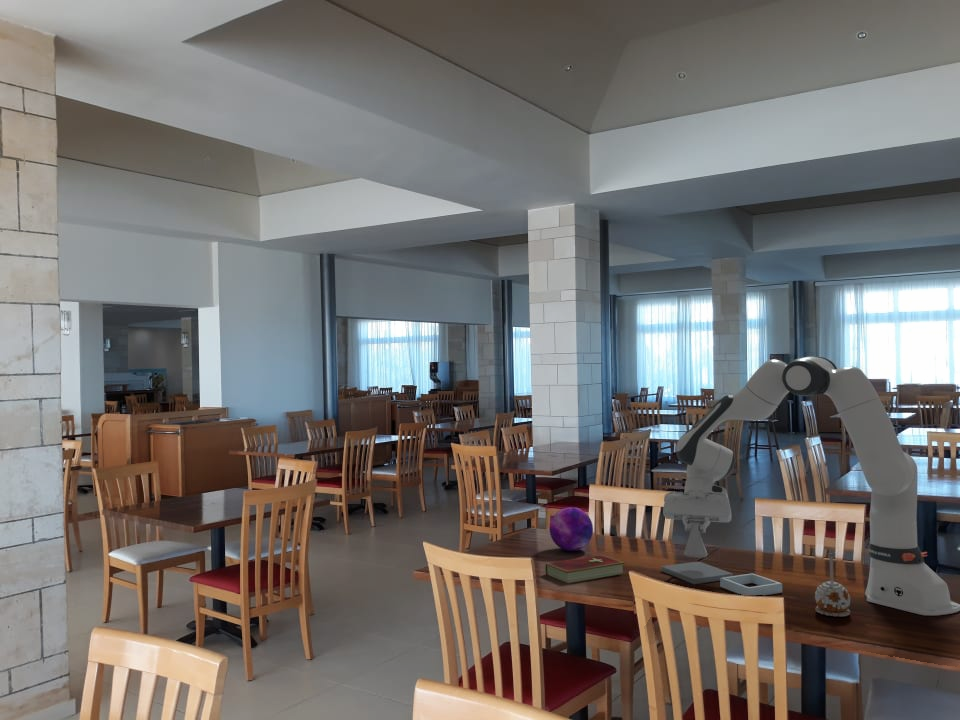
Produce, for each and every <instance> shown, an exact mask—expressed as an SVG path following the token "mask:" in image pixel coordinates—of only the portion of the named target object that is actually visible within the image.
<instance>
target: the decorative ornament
mask: <svg viewBox="0 0 960 720" xmlns="http://www.w3.org/2000/svg"><path fill="white" fill-rule="evenodd" d="M834 580H835V579H834V553H829V581H825V582H821V584H819V585H818V586H817V587H816V590H815V592H814V602H815V604H816V606H815V608H814V609H815V612H817V613H819V614H821V615H825V616H828V617H829V616H831V617H834V618H835V617H839V618H840V617H848V616H849V615H851V610H850V609H849V606H850V605H851V595H850V594H849V591H848V590H847V589H846V587H844V584H841V583H839V582H836V581H834Z"/></svg>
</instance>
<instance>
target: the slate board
mask: <svg viewBox="0 0 960 720" xmlns="http://www.w3.org/2000/svg"><path fill="white" fill-rule="evenodd" d="M660 571H661V572H662V573H665V574H668V575H670V576H672V577H675V578H677V579H680V580H683V581H685V582H687V583H689V584H692V585H696V584H697V585H699V584H705V583H712V582H720V578H723V577H730V576H734V573H732V572H729V571H727V570H724V569H720V568H719V567H716V566H713V565H710V564H707V563H705V562H702V561H694V562H693V561H692V562H685V563H678V564H677V563H675V564H668V565H662V566H661V569H660Z"/></svg>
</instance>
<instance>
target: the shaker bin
mask: <svg viewBox="0 0 960 720" xmlns="http://www.w3.org/2000/svg"><path fill="white" fill-rule="evenodd" d="M749 584H755V586H750V587H749V586H747V585H749ZM719 585H720V588H723V589H725V590H728V591H730V592H733V593H735V594H737V595H740V594H741V596H743V595H763V596H767V595H775V594H780V593H783V583H782V582H780V581H779V582H778V581H776V580H774V579H770V578H769V577H765V576H762V575H758V574H756V573H747V574H746V573H745V574H739V575H738V574H737V575H733V576H730V577H723V578H720V581H719Z"/></svg>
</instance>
